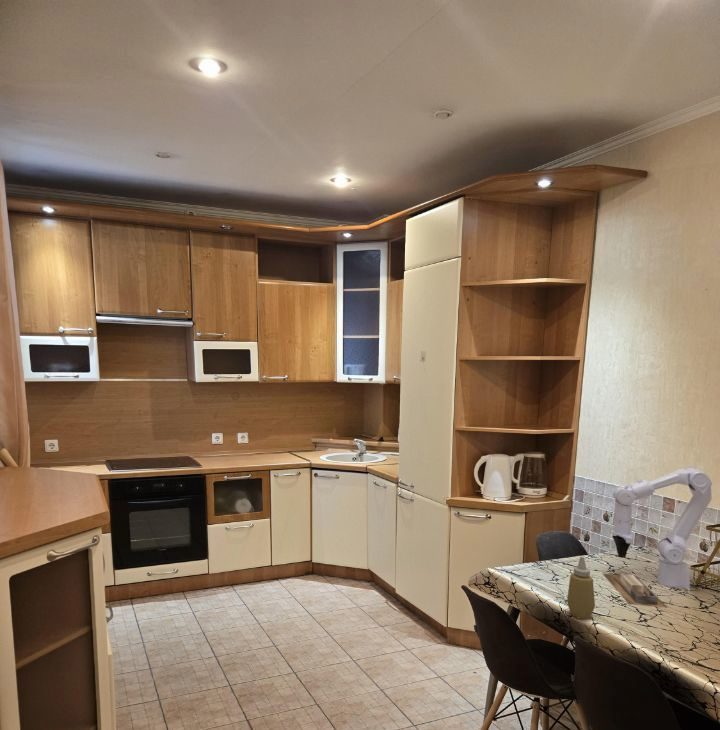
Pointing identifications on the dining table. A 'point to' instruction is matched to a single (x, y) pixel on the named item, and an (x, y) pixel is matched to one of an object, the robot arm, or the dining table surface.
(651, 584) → the dining table surface
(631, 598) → the board
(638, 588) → the cream rectangular block
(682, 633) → the dining table surface
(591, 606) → the squeeze bottle
